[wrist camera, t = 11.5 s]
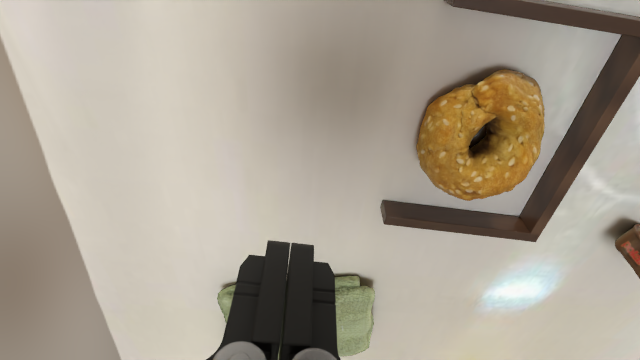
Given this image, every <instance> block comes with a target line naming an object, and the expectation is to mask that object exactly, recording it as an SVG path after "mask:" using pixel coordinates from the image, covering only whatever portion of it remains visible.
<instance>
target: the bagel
mask: <svg viewBox="0 0 640 360" xmlns="http://www.w3.org/2000/svg"><path fill="white" fill-rule="evenodd" d="M485 124H486V126H487V127H486V132H487V133H486V136H485V137H484V139H482V140H481V141H480V142H479V143H478V144H476V145H474V146H472V148H471V149H469V145H470V142H471V140H472V138H473V137H474V136H475V135H476V134H477V133H478V132H479V130H480V129H481V128H482V127H483V126H484V125H485ZM543 134H544V105H543V101H542V95H541V90H540V88H539V85H538V83H537V82H536V81H535V80H534V79H533V78H530V77H528V76H525V75H524V74H523V73H519V72H517V71H511V70H508V69H503V70H499V71H496V72H494V73H493V74H491V75H490V76H489V77H487V78H485V79H484V81H481V82H479V83H478V84H477V85H473V84H467V85H464V86H462V87H456V88H454V90H453V91H451V92H449V93H447V94H445V95H443V96H440V97H438V98H437V99H436V100H435V101H434V102H432V103H431V104H430V105H429V106H428V108H427V110H426V114H425V117H424V120H423V122H422V124H421V127H420V133H419V139H418V143H417V146H416V148H417V152H418V158H419V160H420V166H421V168H422V170H423V171H424V172H425V173H426V174H427V176H428V177H429V179H430V180H431V181H432V183H433V184H434V185H435V186H436V187H437V188H439V189H441V190H443V191H444V192H446V193H448V194H449V195H452V196H455V197H457V198H460V199H463V200H467V201H470V200H473V199H478V198H480V199H483V198H487V197H489V196H494V195H498V194H501V193H503V192H508V191H511V190H513V188H514V187H515V186H516V185H517V184H519V183H520V182H522V181H523V180H524V179H525V178H526V177H527V175H528V173H529V171H530V170H531V168H532V166H533V165H534V163H535V161H536V160H537V159H538V156H539V154H540V149H541V148H540V145H541V140H542V137H543Z"/></svg>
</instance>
